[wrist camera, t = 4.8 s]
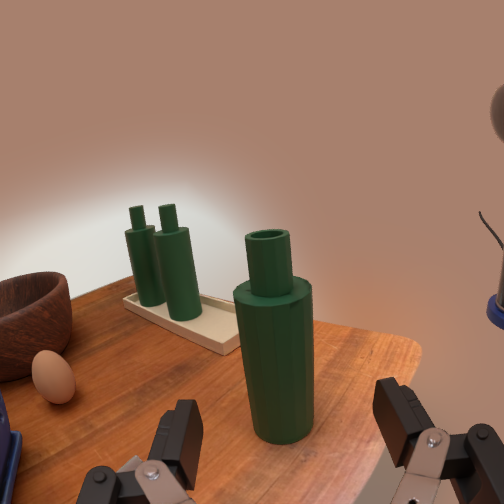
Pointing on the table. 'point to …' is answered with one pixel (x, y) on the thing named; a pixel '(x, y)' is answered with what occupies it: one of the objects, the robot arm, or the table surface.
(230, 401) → the table surface
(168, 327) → the tray
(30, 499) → the table surface
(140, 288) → the row bottle
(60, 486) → the table surface
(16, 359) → the wooden bowl
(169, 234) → the row bottle
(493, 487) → the robot arm
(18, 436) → the flower pot
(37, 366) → the egg
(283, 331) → the bottle
